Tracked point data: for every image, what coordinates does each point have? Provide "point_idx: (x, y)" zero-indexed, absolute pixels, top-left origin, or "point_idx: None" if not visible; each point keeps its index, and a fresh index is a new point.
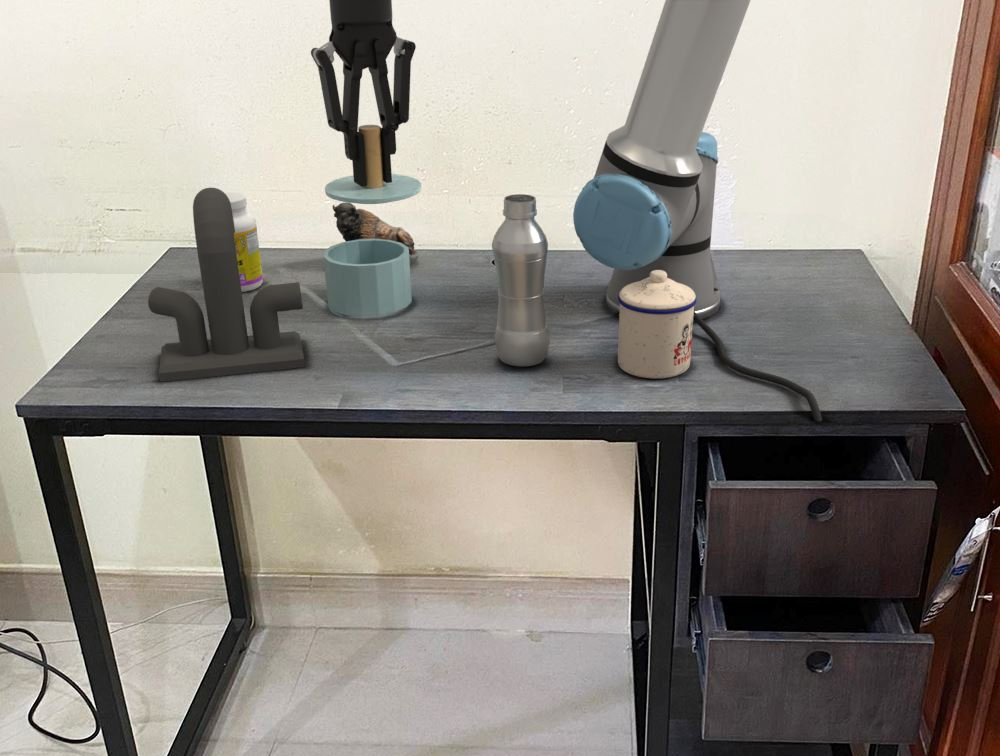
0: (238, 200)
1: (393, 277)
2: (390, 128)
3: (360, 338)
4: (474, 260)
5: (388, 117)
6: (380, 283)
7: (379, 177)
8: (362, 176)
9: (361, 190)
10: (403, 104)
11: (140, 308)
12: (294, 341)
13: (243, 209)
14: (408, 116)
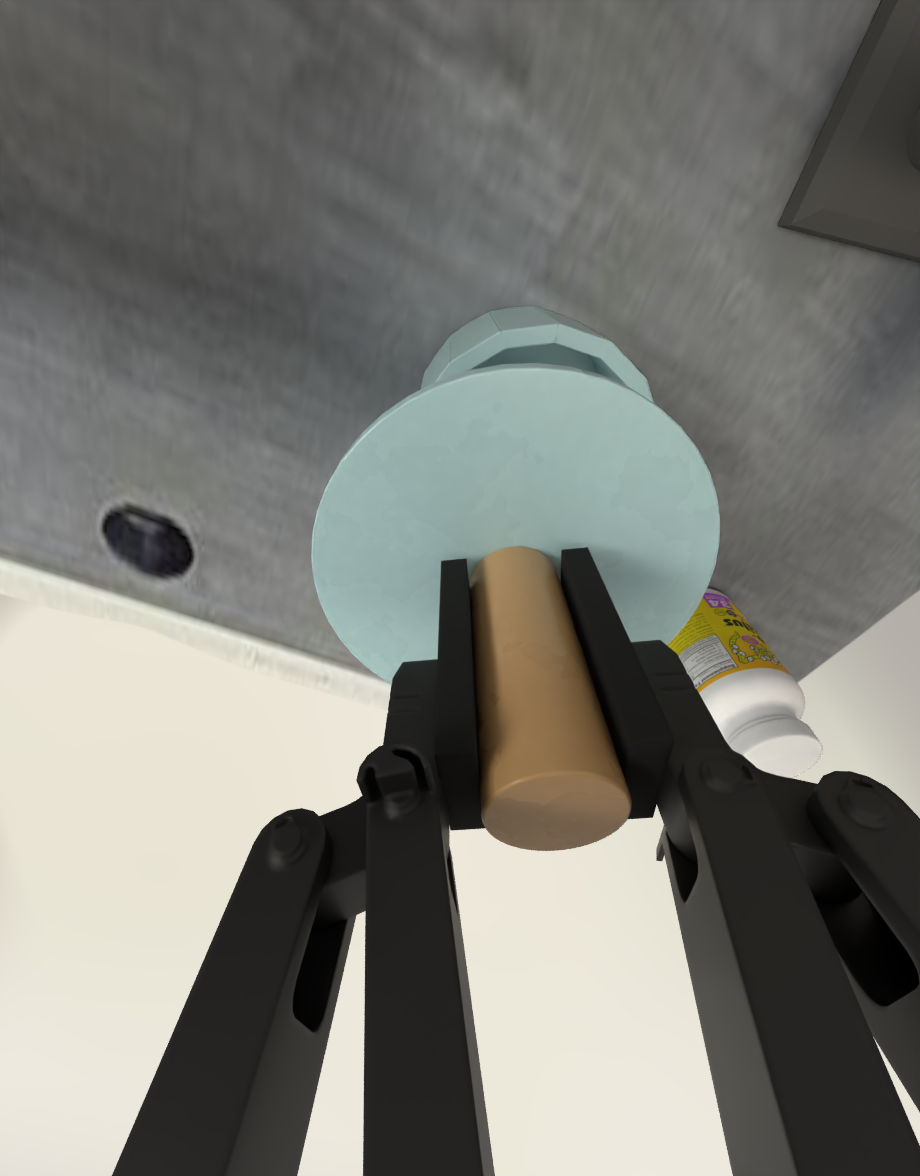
0: (776, 738)
1: (491, 326)
2: (428, 760)
3: (634, 168)
4: (231, 580)
5: (425, 858)
6: (535, 316)
7: (500, 574)
8: (591, 572)
9: (586, 539)
10: (254, 980)
11: (886, 584)
12: (881, 99)
13: (746, 724)
14: (251, 857)
